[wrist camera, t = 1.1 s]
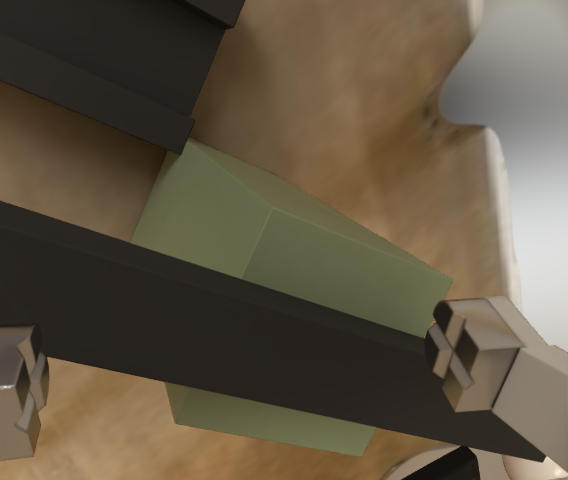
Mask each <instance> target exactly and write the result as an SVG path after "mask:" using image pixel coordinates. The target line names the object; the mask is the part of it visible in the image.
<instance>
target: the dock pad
mask: <svg viewBox="0 0 568 480" xmlns="http://www.w3.org/2000/svg"><path fill="white" fill-rule="evenodd" d="M244 2H245V0H0V81H2V82H5V83H7V84H10V85H12V86H14V87H17V88H19V89H22V90H24V91H27V92H29V93H31V94H34V95H36V96H39V97H41V98H43V99H46V100H48V101H51V102H53V103H55V104H58V105H60V106H63V107H65V108H67V109H70V110H72V111H75V112H77V113H79V114H82V115H84V116H87V117H89V118H91V119H94V120H96V121H99V122H101V123H103V124H106V125H108V126H111V127H113V128H115V129H118V130H120V131H123V132H125V133H127V134H130V135H132V136H135V137H137V138H140V139H142V140H144V141H147V142H149V143H152V144H154V145H156V146H159V147H161V148H164V149H166V150H168V151H171V152H173V153H176V154H178V155H181V154H182V151H183V149H184V147H185V144H186V142H187V139H188V137H189V134H190V132H191V130H192V127H193V125H194V122H195V120H194V119H192V118H190V114H191V112H192V110H193V107H194V105H195V102H196V100H197V97H198V95H199V93H200V90H201V88H202V85H203V83H204V81H205V78H206V76H207V73H208V71H209V68H210V66H211V64H212V61H213V59H214V56H215V54H216V52H217V49H218V47H219V44H220V42H221V39H222V37H223V35H224V32H225V30H226V29H230V28H234V26H235V24H236V22H237V19H238V17H239V14H240V12H241V10H242V7H243V5H244Z"/></svg>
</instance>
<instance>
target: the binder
mask: <svg viewBox="0 0 568 480" xmlns="http://www.w3.org/2000/svg"><path fill="white" fill-rule="evenodd" d="M401 480H480V472H479V466H478V460H477V457H476V455H475V454H474V453H473V452H472V451H471V450H470V449H469V448H468V447H466V446H460V447H459V448H457V449H455V450H454V451H452V452H450V453H448V454H446V455H444V456H443V457H441V458H439V459H437V460H435V461H433V462H431V463H430V464H428V465H426V466H424V467H423V468H421V469H419V470H417V471H415V472H414V473H412V474H410V475H408V476H407V477H405V478H403V479H401Z"/></svg>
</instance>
